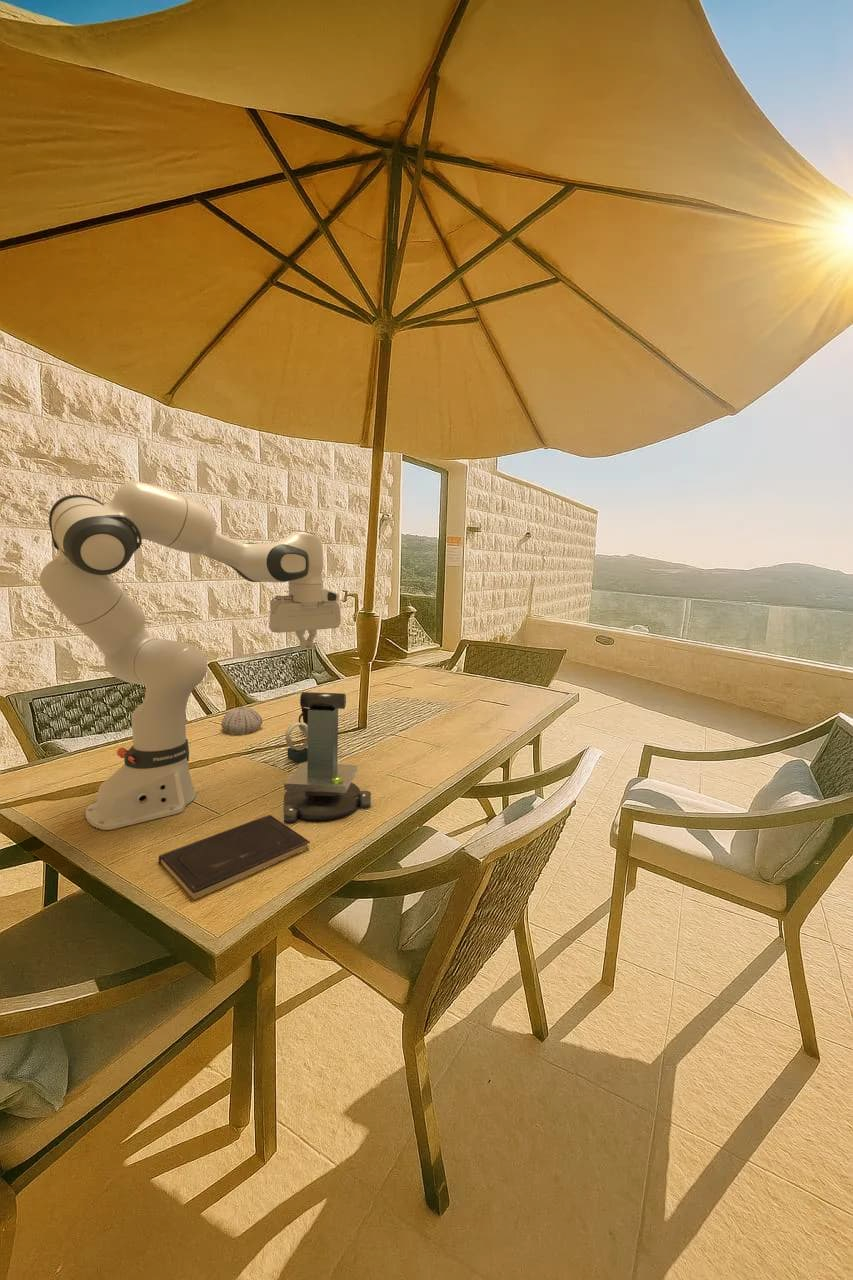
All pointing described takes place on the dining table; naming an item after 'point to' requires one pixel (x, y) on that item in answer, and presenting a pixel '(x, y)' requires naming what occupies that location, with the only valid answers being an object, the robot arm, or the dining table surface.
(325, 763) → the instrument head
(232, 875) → the hardcover book
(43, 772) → the dining table surface
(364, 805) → the tribrach base
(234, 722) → the sea urchin shell
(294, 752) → the watch
